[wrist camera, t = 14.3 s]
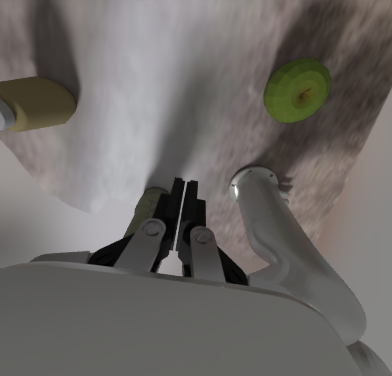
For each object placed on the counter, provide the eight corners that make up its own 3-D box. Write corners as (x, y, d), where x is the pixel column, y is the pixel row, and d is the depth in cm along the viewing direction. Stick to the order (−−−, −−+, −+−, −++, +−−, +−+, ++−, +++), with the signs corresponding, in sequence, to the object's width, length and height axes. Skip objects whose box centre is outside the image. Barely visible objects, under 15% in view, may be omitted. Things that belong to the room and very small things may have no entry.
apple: (309, 65, 29) (361, 60, 19) (288, 116, 33) (322, 132, 24) (261, 58, 28) (290, 49, 19) (247, 110, 33) (265, 124, 24)
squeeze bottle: (47, 65, 30) (-103, 55, 15) (88, 100, 33) (-3, 120, 18) (34, 99, 34) (-98, 118, 19) (73, 128, 37) (-15, 164, 22)
